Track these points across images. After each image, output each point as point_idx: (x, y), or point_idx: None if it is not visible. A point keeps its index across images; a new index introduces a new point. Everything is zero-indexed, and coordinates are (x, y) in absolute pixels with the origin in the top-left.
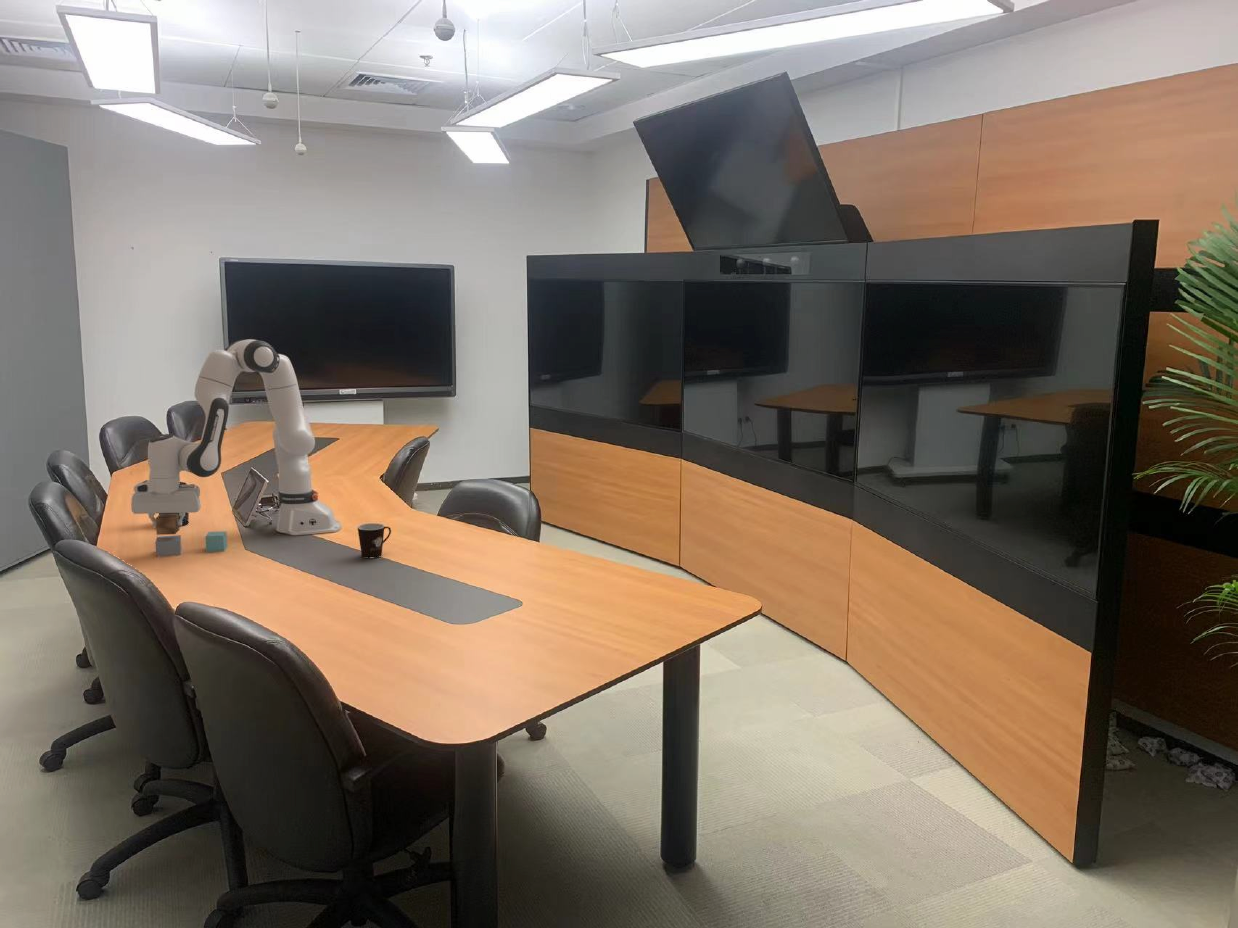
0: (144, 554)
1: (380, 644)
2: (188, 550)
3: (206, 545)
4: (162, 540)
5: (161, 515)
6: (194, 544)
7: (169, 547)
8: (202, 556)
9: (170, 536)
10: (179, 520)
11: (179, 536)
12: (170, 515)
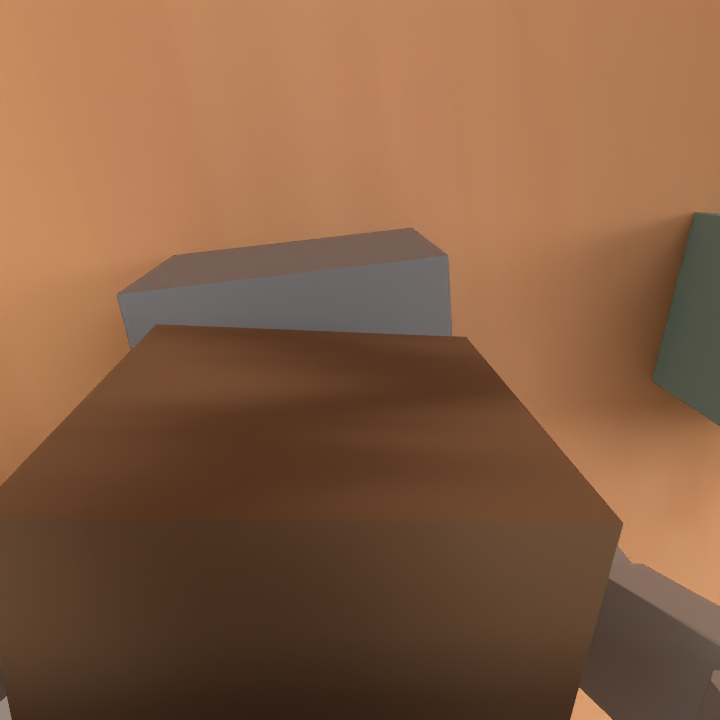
0: (73, 369)
1: None
2: (487, 297)
3: (698, 410)
4: None
5: (104, 687)
6: (538, 39)
7: None
8: (613, 507)
9: (314, 309)
10: (586, 682)
11: (440, 330)
12: (395, 698)
